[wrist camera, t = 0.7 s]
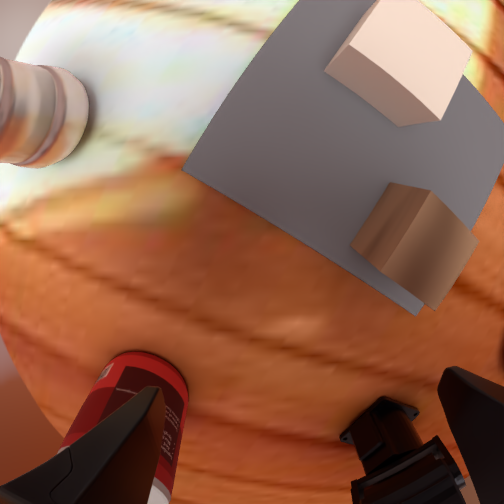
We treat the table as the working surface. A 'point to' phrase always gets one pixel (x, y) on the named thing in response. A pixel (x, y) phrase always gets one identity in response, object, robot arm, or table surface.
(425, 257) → the walnut block
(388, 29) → the cream block
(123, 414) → the robot arm
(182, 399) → the canned food
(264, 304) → the table surface
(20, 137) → the plastic bottle
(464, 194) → the build mat
